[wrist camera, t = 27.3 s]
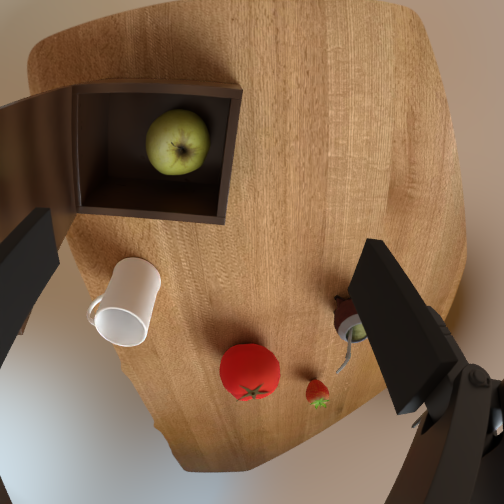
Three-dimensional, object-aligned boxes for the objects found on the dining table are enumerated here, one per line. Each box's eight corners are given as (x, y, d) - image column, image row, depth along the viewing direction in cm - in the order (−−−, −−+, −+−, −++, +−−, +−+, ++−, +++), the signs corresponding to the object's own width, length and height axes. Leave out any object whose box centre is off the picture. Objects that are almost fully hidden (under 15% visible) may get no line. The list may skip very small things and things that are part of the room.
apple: (133, 139, 39) (128, 141, 30) (180, 100, 39) (189, 91, 30) (170, 182, 42) (177, 197, 34) (215, 144, 42) (235, 149, 34)
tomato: (209, 358, 65) (208, 403, 55) (235, 324, 60) (237, 371, 50) (259, 373, 69) (263, 415, 59) (288, 342, 64) (297, 387, 54)
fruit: (299, 385, 72) (305, 412, 66) (308, 372, 70) (314, 401, 63) (320, 386, 73) (326, 413, 67) (328, 373, 71) (336, 401, 64)
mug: (106, 299, 55) (87, 348, 45) (90, 261, 50) (65, 308, 40) (166, 295, 55) (155, 347, 45) (154, 254, 51) (138, 304, 40)
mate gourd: (370, 298, 59) (399, 357, 46) (341, 324, 62) (363, 384, 49) (345, 281, 56) (373, 343, 43) (315, 309, 59) (335, 373, 47)
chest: (239, 84, 38) (243, 89, 29) (225, 189, 46) (224, 225, 36) (106, 78, 35) (70, 85, 26) (104, 180, 43) (74, 213, 34)
